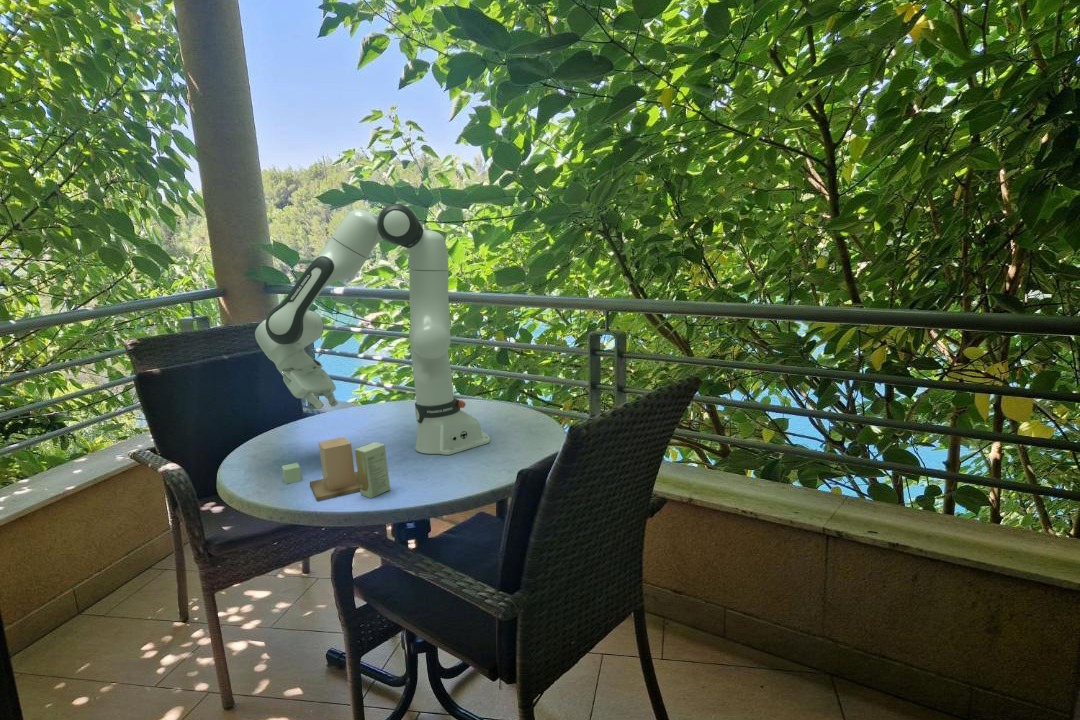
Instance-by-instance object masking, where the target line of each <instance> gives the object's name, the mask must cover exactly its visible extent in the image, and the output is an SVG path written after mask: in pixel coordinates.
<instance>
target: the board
mask: <svg viewBox="0 0 1080 720" xmlns="http://www.w3.org/2000/svg"><path fill="white" fill-rule="evenodd" d="M354 472H355V480H356V484H355V485H351V486H347V487H343V488H339V489H335V490H331V491H329V489H328V488H327V487H326V485H325V484H324V480H323V478H322V479H317V480H313V481H309V486H310V489H311V488H312V489H311V490H312V494H313V495H314V497H316V498H315V500H316V502H320V501H319V500H321V501H324V499H326V500H329V498H330V499H333V498H338V497H337V496H339V497H342V495H343V496H347V495H351V494H355V493H359V492H360V484H359V477H358V470H357V471H354ZM360 493H361V492H360ZM346 494H347V495H346Z"/></svg>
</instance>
